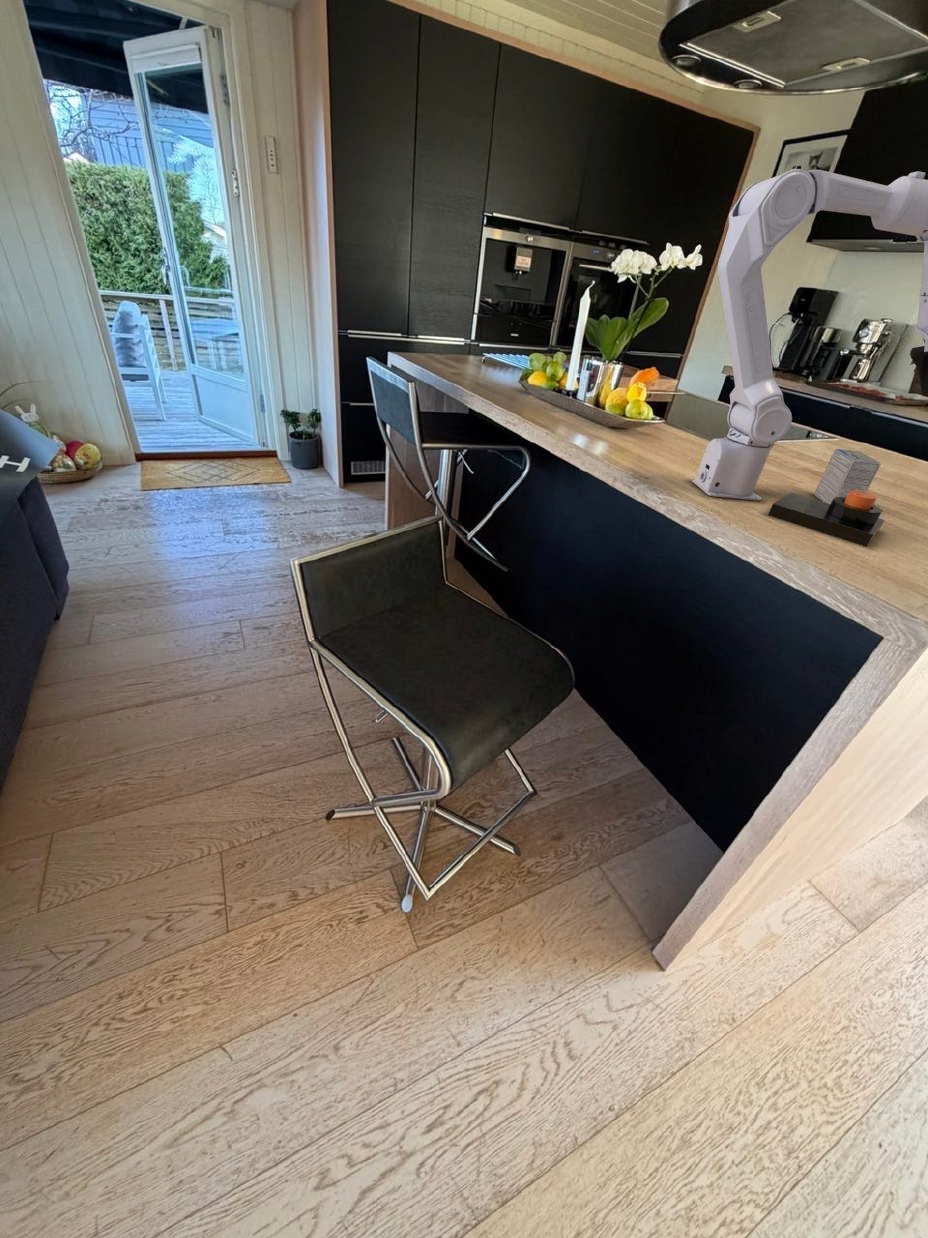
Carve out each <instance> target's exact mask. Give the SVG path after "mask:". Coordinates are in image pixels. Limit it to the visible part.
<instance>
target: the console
mask: <svg viewBox="0 0 928 1238" xmlns="http://www.w3.org/2000/svg"><path fill="white" fill-rule="evenodd" d="M845 499H846V497H835V498H834V499H833V500H832V502H831V504H828V503H825V502H822V501H821V500H817V499H814V498H810V497H807V496H804V495H802V494H801V495H800V494H797V493H793V492H790V493H787V495H784V496H783V497H781V498H780V499H778V500H777V501H775V502H773V503H772V505H771V507H770V509H769V512H768V513H767V516H768V517H772V518H776V519H778V520H782V521H785V522H788V523H791V524H794V525H797V526H799V527H803V528H807V529H809V530H813V531H815V532H819V533H821V534H825V535H829V536H831V537H834V538H837V539H841V540H845V541H847V542H849V543H852V544H856V545H859V546H862V547H865V548H867V547H868V546H869V544H870V543H871V542H872V540H873V539H874V538H875V536H876V535H877V534H878V533H879V531H880V529H881V528H882V526H883V524H884V523H885V519H882V518H880V517H881V515H882V513H883V511H884V510H883V509H882V508H881V507H879V506H878V505H875V504H873V506H872V508H871V509H870V510H865V509H859V508H856V507H852V506H849V505H847V504H845V503H844V501H845Z"/></svg>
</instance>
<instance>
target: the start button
mask: <svg viewBox="0 0 928 1238" xmlns="http://www.w3.org/2000/svg"><path fill="white" fill-rule="evenodd" d="M876 501H877V496H876V495H875V494H872V493H869V492H862V491H857V490H851V491H850V492H849V494H848V495H847V497H846V499H845V501H844V503H845V504H847V505H849V506H852V507H856V508H859V509H865V510H870V509H871V508H872V506H873V505H875V502H876Z"/></svg>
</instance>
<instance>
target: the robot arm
mask: <svg viewBox="0 0 928 1238" xmlns="http://www.w3.org/2000/svg"><path fill="white" fill-rule="evenodd" d="M925 177H926V172H923V171H918V170H917V171H914V172H910V173H909V174H908V175H903V176H900V177H898V178H897V179H895V180H893V181H892V182H891V183H890V184H888V185H885V184H880V183H877V182H873V181H868V180H865V179H860V178H856V177H852V176H848V175H844V174H839V173H834V172H831V171H826V170H822V169H811V170H804V169H801V168H794V169H790V170H788V171H785V172H783V173H782V174H779V175H777V176H773V177H771V178H767V179H761V180H758V181H755V182H753V183H752V184H750V185H749V186H748V187H747V188H745V190H744V191H743V193H742V194H741V195H740V197H739V198H738V199H737V201H736V202H735V204H734V206H733V208H732V209H731V210H730V212H729V214H728V228H727V231H726V235H725V238H724V242H723V245H722V248H721V252H720V256H719V258H718V263H717V275H718V283H719V289H720V295H721V302H722V308H723V315H724V321H725V322H724V323H725V328H726V329H725V330H726V334H727V341H728V348H729V354H730V362H731V368H732V374H733V381H734V388H733V389H732V391H731V392H730V394H729V400H730V401H729V403H730V405H729V409H728V412H727V415H726V416H727V417H726V418H727V424H728V426H729V430H728V432H727V435H726V436H725V437H722V438H720V437H719V438H716V437H715V438H713V439H711V440H710V441H709V442H708V444H707V445H706V448H705V449H704V453H703V454H702V458H701V460H700V464H699V466H698V469H697V472H696V475H695V478H693V479H692V483H693V484H694V485H696V486H697V487H698V488H699V489H701V490H702V491H703V492H704V493H705V494H707V495H708V496H709V497H714V498H727V499H737V500H748V501H758V502H761V501H762V500H763V498H762V497H761V496H759V494H757V493H756V492H754V490H755V488H756V485H757V484H758V481H759V479H760V477H761V474H762V471H763V469H764V467H765V465H766V462H767V459H768V457H769V455H770V453H771V450H772V448H773V447H774V446H775V443H777V442H779V441H780V440H781V439H783V438H784V437H785V436H786V435H787V433H788V432H789V430H790V428H791V426H792V421H793V416H792V412H791V410H790V408H789V407H788V406H787V405H786V404H785V403H786V402H785V401H784V394H783V392H782V390H781V388H780V386H779V385H778V383H777V382H776V380H775V377H774V371H773V364H772V363H773V362H772V354H771V345H770V336H769V328H768V317H767V309H766V302H765V293H764V281H763V273H762V266H763V265H764V263H765V262H766V260H767V259H768V258H769V256H770V255H771V253H772V252H773V251H774V249H775V247H776V246H777V245H778V244H779V243H780V242H781V241H782V240H784V239H785V238H786V237H787V236H788V235H789V234H790V233H791V232H792V231H793V230H794V229H795V228H797V227H798V226H799V225H800V224H801V223H802V222H803V220H804V219H805V218H806V217H807V216H810V215H814V214H816V213H818V212H820V211H827V212H835V213H843V214H850V215H860V216H869V217H870V218H871V223H872V227H873V228H874V229H876V230H878V231H885V232H891V233H896V234H902V235H908V236H914V237H915V238H916V239H917V240H918V241H919V242H920V243H922V242H924V244H923V258H922V269H921V270H922V271H921V277H920V278H921V279H920V280H921V281H920V289H919V290H920V292H919V299H918V301H919V302H918V312H917V313H918V314H917V322H916V325H915V328H914V333H915V334H916V335H917V336H919V337H920V338H922V341H923V343H924V345H922V346H916V347H915V346H914V347H912V348H911V350H910V352H909V356H910V359H911V360H912V362H913V363H914V365H915V367H916V370H917V373H918V378H919V379H918V380H919V385H920V391H921V393H922V395H928V179H925Z"/></svg>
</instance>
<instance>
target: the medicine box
mask: <svg viewBox="0 0 928 1238" xmlns="http://www.w3.org/2000/svg"><path fill="white" fill-rule="evenodd" d="M880 467H881V462H880V461H878V460H876V459H875V458H873V457H871V456H870V455H867V454H866V453H864V452H861V451H858V450H852V449H847V448H846V449H845V448H835V449H834V451H833V453H832V455H831V456H830V459H829V461H828V462H827V465H826V467H825V470H824V471H823V473H822V476H821V478H820V480H819V482H818V483H817V486H816V488H815V490H814V493H813V495H814V496H815V497H816V498H817V499H819V501H821V502H825V503H828V504H831V502H832V500H833V499H834V498H835V497H847V495H848V494H849V492H850V491H851V490H857V491H862V492H866V493H868V490H869V488H870V486H871V485H872V482H873V480H874V479H875V477H876V475H877V473H878V470H879V469H880Z"/></svg>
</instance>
